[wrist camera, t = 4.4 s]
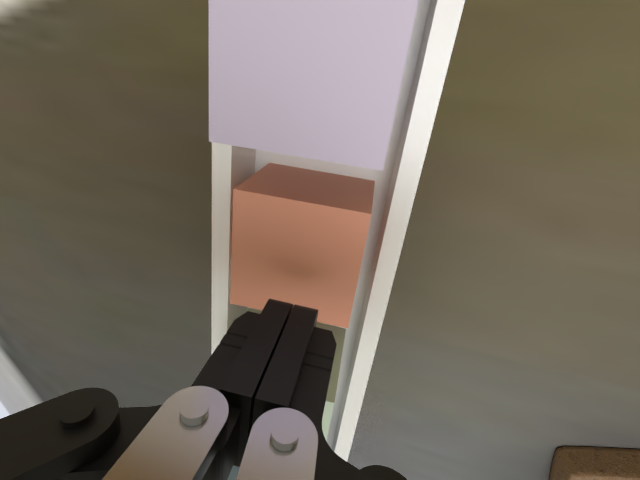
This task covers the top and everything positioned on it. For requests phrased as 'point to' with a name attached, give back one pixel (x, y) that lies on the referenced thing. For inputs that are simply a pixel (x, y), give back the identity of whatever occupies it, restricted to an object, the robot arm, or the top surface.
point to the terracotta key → (299, 239)
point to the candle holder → (595, 463)
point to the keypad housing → (386, 219)
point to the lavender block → (308, 76)
